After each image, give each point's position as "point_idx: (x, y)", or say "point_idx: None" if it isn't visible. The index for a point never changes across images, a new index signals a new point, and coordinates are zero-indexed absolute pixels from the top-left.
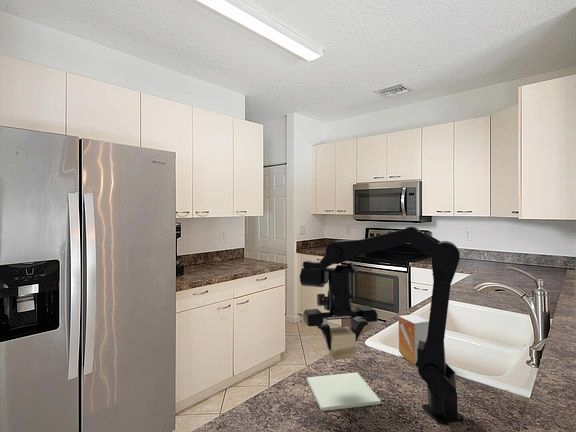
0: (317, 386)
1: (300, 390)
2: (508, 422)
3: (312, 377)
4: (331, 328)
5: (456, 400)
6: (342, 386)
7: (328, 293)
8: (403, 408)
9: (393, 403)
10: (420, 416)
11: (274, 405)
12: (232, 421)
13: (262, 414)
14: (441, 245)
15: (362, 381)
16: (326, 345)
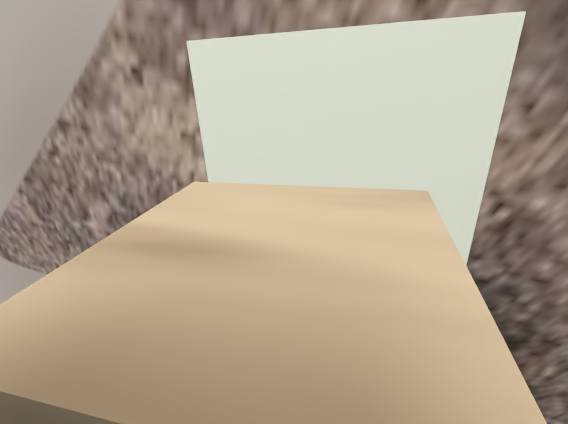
0: (229, 146)
1: (167, 134)
2: None
3: (216, 45)
4: (24, 420)
5: None
6: (343, 172)
7: None
8: (522, 342)
9: (508, 309)
10: (545, 388)
11: (93, 209)
12: (16, 247)
13: (72, 241)
14: None
15: (478, 145)
16: (165, 206)
